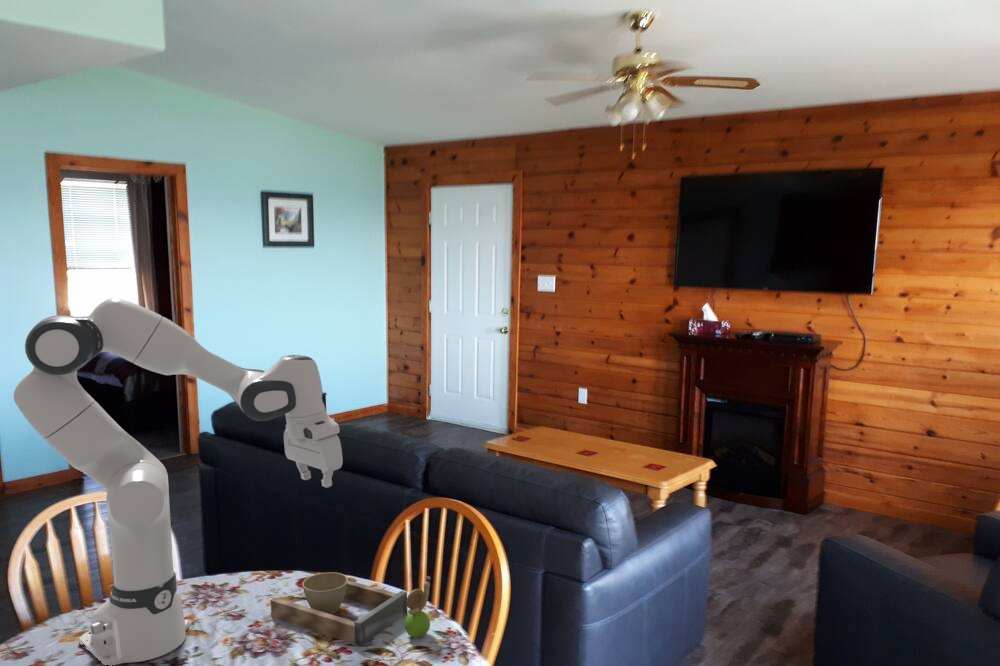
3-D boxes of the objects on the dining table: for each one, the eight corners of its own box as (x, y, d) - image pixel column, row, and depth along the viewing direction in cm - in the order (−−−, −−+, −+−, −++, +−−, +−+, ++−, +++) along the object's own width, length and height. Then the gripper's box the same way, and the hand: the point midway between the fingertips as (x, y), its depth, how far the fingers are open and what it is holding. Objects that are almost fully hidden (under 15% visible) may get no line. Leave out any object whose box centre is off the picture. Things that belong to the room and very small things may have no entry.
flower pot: (337, 624, 156) (336, 593, 155) (295, 620, 158) (294, 589, 157) (355, 603, 165) (354, 573, 165) (316, 599, 167) (315, 570, 167)
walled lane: (271, 617, 159) (270, 595, 159) (321, 588, 173) (321, 569, 172) (360, 646, 146) (360, 623, 146) (407, 613, 160) (406, 592, 160)
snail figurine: (439, 633, 151) (437, 579, 150) (416, 645, 146) (415, 590, 145) (421, 625, 155) (420, 572, 154) (399, 636, 150) (397, 582, 149)
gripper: (273, 422, 166) (282, 479, 168) (317, 434, 151) (327, 495, 153) (297, 415, 170) (306, 470, 172) (343, 426, 155) (352, 486, 157)
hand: (316, 482), depth 162 cm, fingers open, 8 cm apart
